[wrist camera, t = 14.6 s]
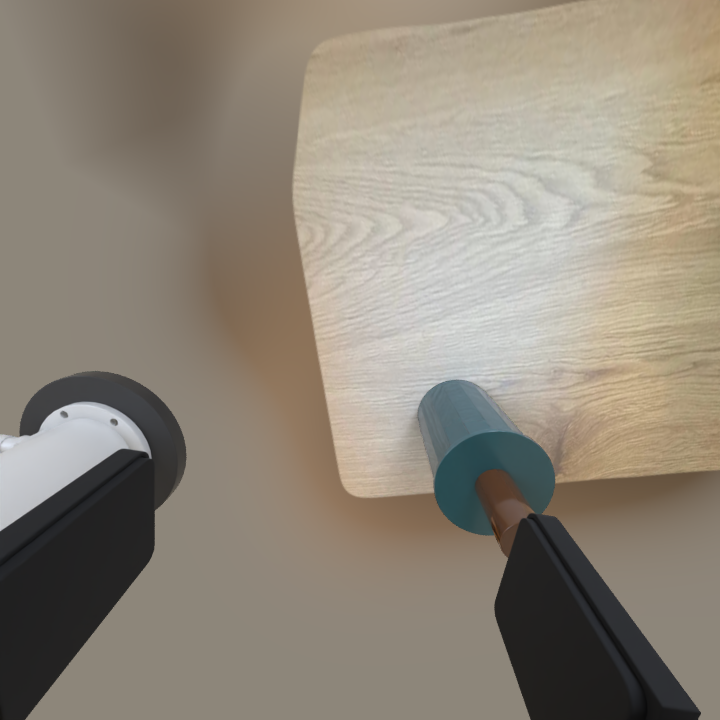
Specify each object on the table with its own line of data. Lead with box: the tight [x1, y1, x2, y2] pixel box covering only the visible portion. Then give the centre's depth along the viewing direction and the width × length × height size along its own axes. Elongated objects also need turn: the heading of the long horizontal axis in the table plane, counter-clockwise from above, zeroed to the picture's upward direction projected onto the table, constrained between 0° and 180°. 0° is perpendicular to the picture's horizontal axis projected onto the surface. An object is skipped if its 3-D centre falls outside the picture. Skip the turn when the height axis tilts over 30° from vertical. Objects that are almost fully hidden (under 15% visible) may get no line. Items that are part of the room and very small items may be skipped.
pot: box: [418, 380, 523, 478], centre depth 32 cm, size 8×8×12 cm
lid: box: [433, 428, 555, 558], centre depth 23 cm, size 9×9×7 cm
